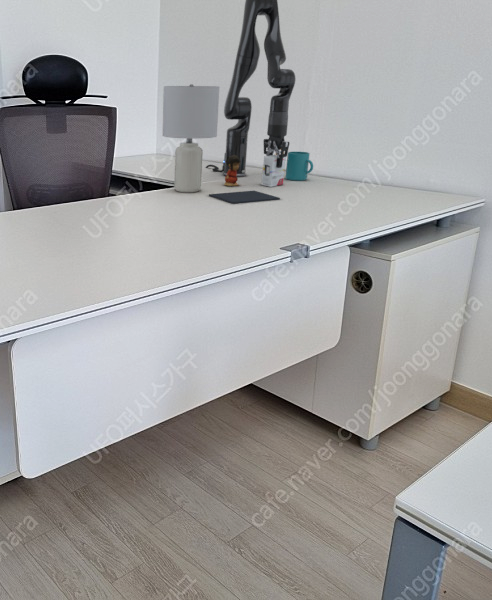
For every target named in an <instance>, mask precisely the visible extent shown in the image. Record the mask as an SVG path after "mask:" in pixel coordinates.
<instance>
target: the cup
mask: <svg viewBox="0 0 492 600" xmlns="http://www.w3.org/2000/svg"><path fill="white" fill-rule="evenodd" d="M310 153H311V152H309V151H288V153H287V157H286V165H285V175H284V177H285V179H286V180H288V181H298V182H300V181H302V182H303V181H306V180H307V179H308V175H309V174H310V173H311V172H312V171H313V170H314V163H313V161H312V160H311V159H310V155H311V154H310ZM309 165H310V167H309Z"/></svg>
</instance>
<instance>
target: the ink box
mask: <svg viewBox="0 0 492 600" xmlns="http://www.w3.org/2000/svg"><path fill="white" fill-rule="evenodd" d="M286 162H287V157H284V158H283V162H282V167H281V168H277V167H276V164H277V155H276V154H273V155H270V156H266V155H264V156H263V165H262V174H261V186H265V187H269V188H272V187H277V186H281V185H283V184H284V177H285V171H286Z"/></svg>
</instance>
